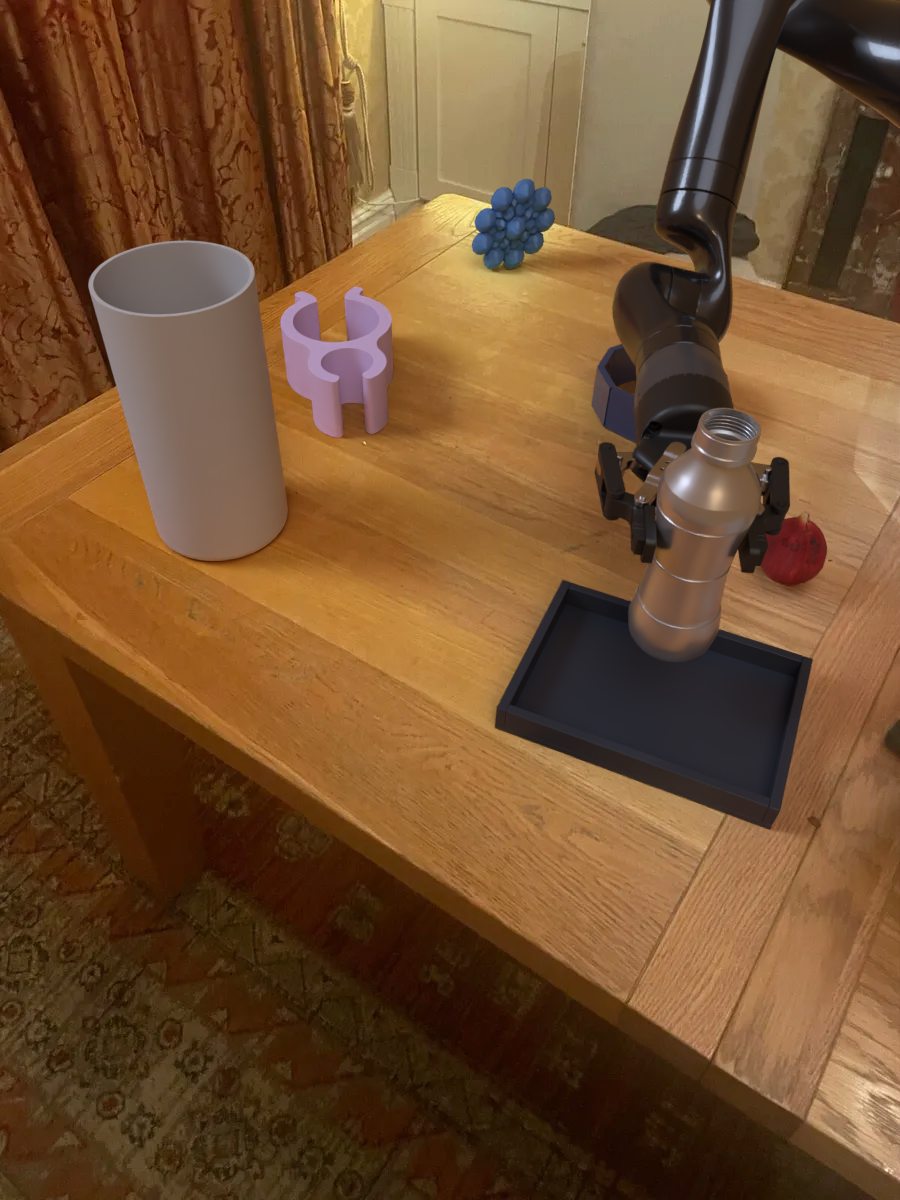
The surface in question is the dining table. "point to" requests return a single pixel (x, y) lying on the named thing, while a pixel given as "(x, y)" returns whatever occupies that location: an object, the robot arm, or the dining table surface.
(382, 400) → the clip
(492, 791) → the dining table surface
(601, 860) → the dining table surface
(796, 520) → the onion
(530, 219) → the grapes
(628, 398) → the blue faceted ring
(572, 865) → the dining table surface
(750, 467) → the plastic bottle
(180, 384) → the cylinder vase
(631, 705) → the tray
